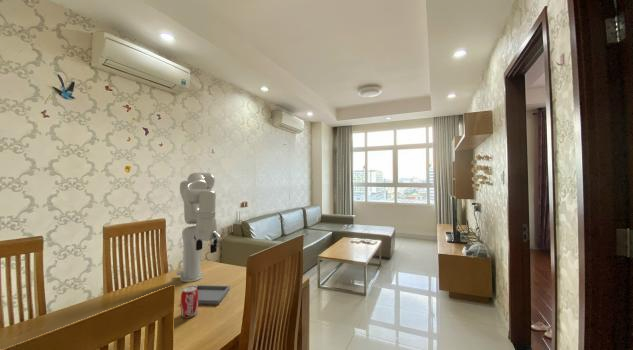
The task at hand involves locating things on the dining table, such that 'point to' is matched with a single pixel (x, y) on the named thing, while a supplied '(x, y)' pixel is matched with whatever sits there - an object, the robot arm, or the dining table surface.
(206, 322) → the dining table surface
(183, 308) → the soda can
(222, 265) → the dining table surface
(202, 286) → the tray
